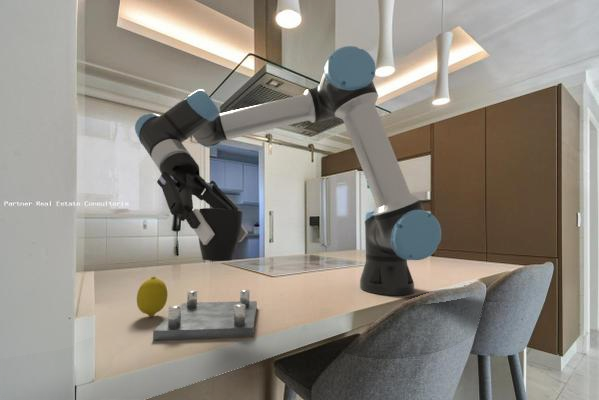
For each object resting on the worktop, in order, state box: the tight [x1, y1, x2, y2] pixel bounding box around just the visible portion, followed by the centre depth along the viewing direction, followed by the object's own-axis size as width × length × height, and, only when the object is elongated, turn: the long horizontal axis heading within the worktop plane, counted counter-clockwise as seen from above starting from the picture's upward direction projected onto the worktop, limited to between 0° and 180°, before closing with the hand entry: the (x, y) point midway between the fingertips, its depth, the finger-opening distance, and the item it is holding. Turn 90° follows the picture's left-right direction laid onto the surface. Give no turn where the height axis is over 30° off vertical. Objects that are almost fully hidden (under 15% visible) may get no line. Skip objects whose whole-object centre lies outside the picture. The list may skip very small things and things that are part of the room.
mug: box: [198, 207, 243, 262], centre depth 56 cm, size 8×12×10 cm
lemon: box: [136, 276, 168, 318], centre depth 57 cm, size 6×6×8 cm
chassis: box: [152, 288, 258, 341], centre depth 54 cm, size 16×16×4 cm
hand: (227, 238), depth 54 cm, fingers closed on mug, 9 cm apart
